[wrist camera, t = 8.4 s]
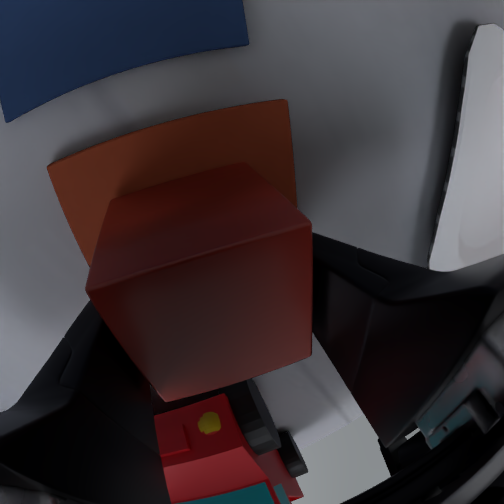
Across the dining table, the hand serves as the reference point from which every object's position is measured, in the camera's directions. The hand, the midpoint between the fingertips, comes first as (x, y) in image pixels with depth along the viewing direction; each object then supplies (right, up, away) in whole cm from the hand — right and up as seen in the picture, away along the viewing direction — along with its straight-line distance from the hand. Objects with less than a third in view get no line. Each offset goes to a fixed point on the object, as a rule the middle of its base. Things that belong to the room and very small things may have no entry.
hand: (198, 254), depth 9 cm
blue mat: (-3, +9, -5) cm, 10 cm away
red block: (0, +1, +1) cm, 1 cm away
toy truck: (-2, -15, +11) cm, 19 cm away
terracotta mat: (0, +1, +1) cm, 2 cm away
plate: (+19, +6, +5) cm, 21 cm away
